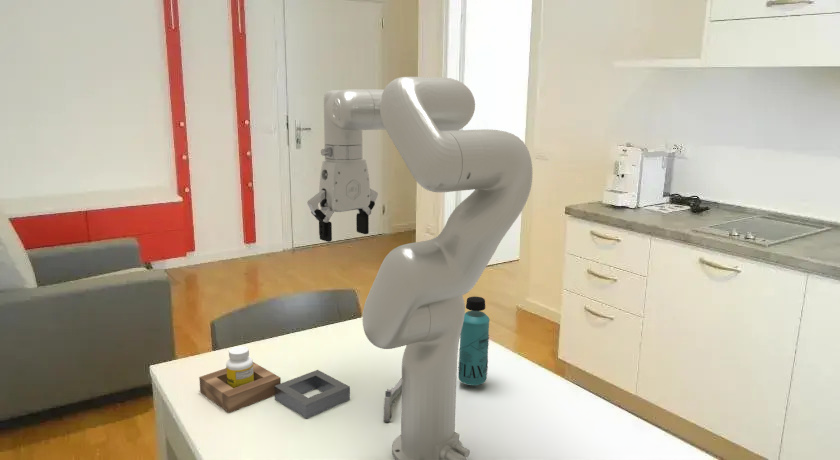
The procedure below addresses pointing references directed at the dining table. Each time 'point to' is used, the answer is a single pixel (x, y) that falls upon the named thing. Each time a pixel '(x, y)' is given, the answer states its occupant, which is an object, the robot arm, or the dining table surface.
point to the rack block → (238, 388)
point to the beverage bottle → (474, 343)
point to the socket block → (308, 407)
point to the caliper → (391, 400)
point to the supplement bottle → (239, 367)
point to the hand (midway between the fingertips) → (344, 236)
